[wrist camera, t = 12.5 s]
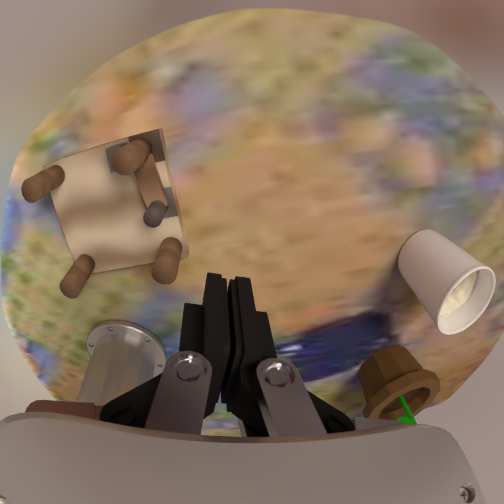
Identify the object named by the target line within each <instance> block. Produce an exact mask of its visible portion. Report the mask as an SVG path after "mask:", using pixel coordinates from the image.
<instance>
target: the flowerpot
mask: <svg viewBox="0 0 504 504" xmlns="http://www.w3.org/2000/svg"><path fill="white" fill-rule="evenodd" d="M359 376H360V380H361V383H362V387H363V391H364V395H365V399H366V403H367V405H366V406H365V408H364V410H363V414H364V416H365V418H371V419H384V420H397V421H401V422H403V423H404V424H417V423H416V421H415V419H414V416H415V415H417V414H418V413H419V412H421V411H422V410H423V409H424V408H425V407H427V406H428V405H429V404H430V403H431V402H432V401H433V399H434V398H435V397H436V395H437V394H438V392H439V391H440V380H439V379H438V377H437V376H436V374H435V373H434V372H431V371H429V370H426V369H423V368H422V366H421V365H420V364H419V363H418V362H417V361H416V359H415V358H414V357H413V356H412V355H411V354H410V352H409V351H408V350H407V349H406V348H404V347H402V346H400V345H394V346H388V347H385V348H383V349H381V350H379V351H377V352H376V353H374V354H372V355H371V356H370V357H369V358H368V359H367V360H366V361H365V362H364V363H363V364H362V367H361V369H360V371H359Z"/></svg>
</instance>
